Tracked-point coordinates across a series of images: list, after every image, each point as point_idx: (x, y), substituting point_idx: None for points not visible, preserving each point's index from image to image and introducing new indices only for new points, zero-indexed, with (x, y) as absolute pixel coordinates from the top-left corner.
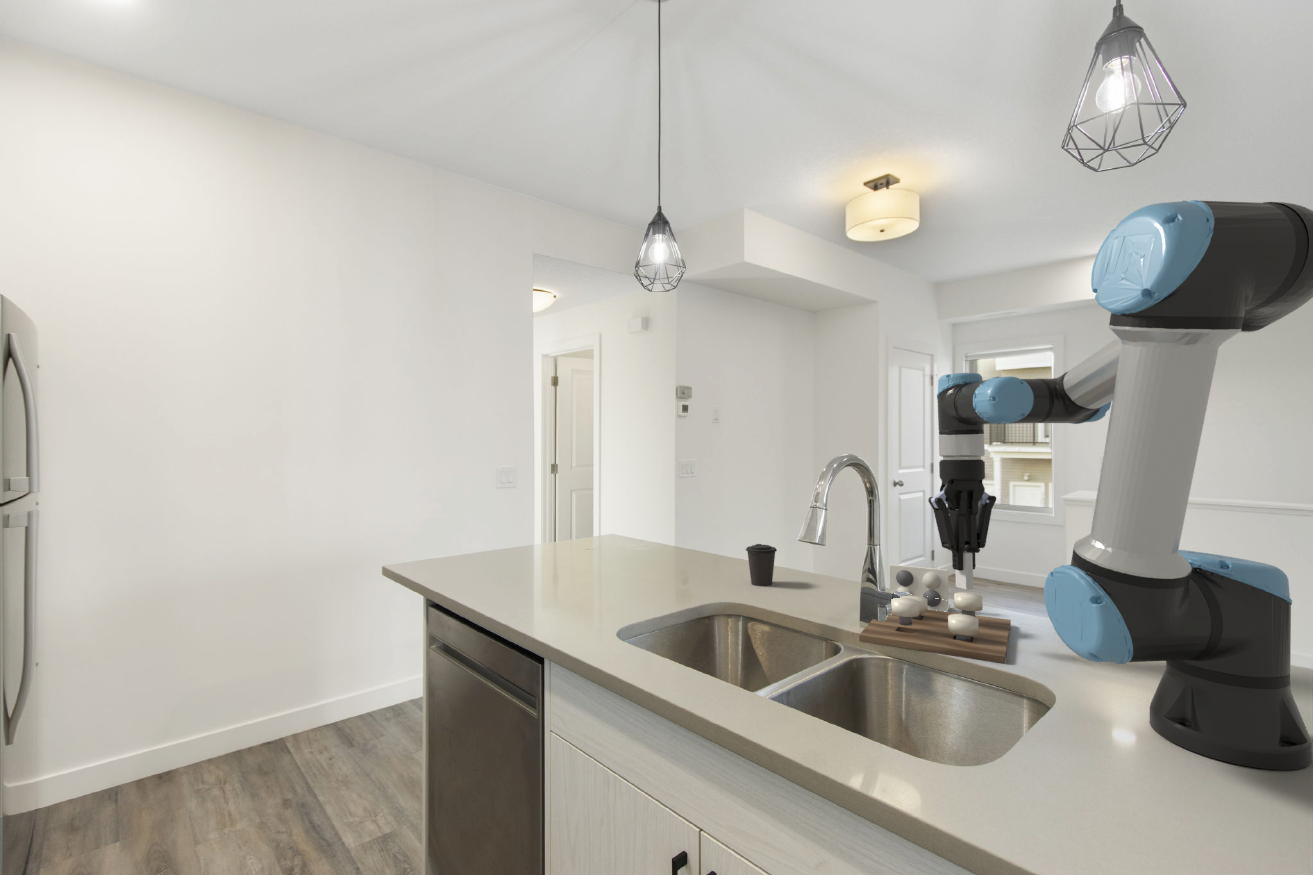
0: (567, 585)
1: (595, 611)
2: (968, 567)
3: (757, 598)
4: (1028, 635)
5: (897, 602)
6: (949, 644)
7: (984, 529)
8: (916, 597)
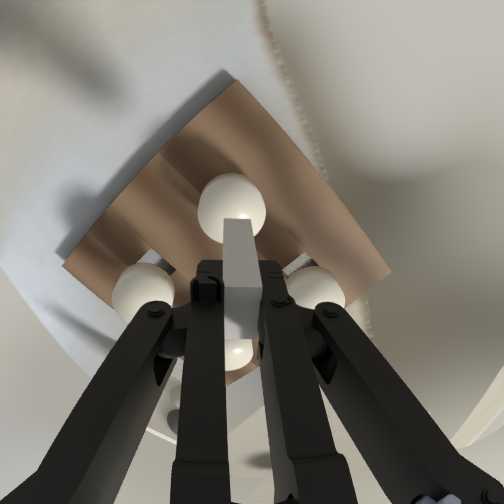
0: (457, 446)
1: (497, 391)
2: (243, 253)
3: None
4: (68, 206)
5: (341, 300)
6: (288, 175)
7: (124, 370)
8: None
